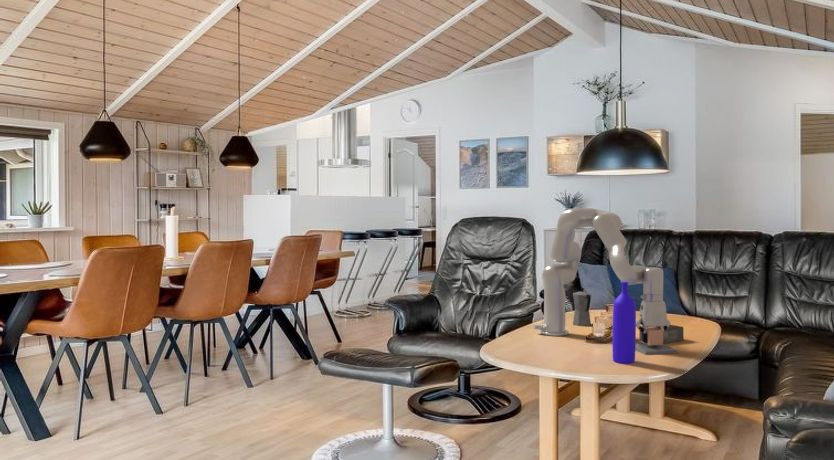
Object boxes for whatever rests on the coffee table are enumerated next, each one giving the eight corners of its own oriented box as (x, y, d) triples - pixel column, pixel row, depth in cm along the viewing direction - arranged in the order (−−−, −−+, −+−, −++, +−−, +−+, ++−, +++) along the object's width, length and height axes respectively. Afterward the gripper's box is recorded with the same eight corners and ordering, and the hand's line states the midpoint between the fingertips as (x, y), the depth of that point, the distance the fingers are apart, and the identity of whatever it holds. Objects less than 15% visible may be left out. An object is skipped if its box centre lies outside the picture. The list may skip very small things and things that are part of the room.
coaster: (645, 354, 262) (645, 351, 262) (627, 346, 276) (627, 343, 276) (677, 352, 265) (677, 349, 265) (658, 345, 278) (658, 342, 278)
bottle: (608, 359, 254) (609, 280, 253) (629, 358, 255) (631, 280, 254) (617, 364, 246) (618, 283, 245) (638, 363, 247) (640, 283, 246)
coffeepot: (567, 322, 332) (567, 286, 332) (585, 321, 334) (585, 285, 333) (579, 328, 317) (580, 290, 316) (598, 327, 319) (599, 289, 318)
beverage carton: (638, 342, 287) (638, 326, 286) (670, 338, 295) (670, 323, 295) (652, 345, 280) (652, 329, 279) (684, 341, 288) (685, 326, 288)
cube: (649, 345, 267) (649, 330, 266) (641, 342, 273) (641, 327, 272) (663, 344, 268) (663, 329, 268) (655, 341, 274) (655, 327, 273)
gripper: (638, 299, 264) (637, 345, 265) (677, 298, 267) (676, 343, 268) (628, 297, 271) (628, 341, 272) (667, 296, 275) (666, 339, 275)
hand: (652, 341), depth 270 cm, fingers closed on cube, 5 cm apart
